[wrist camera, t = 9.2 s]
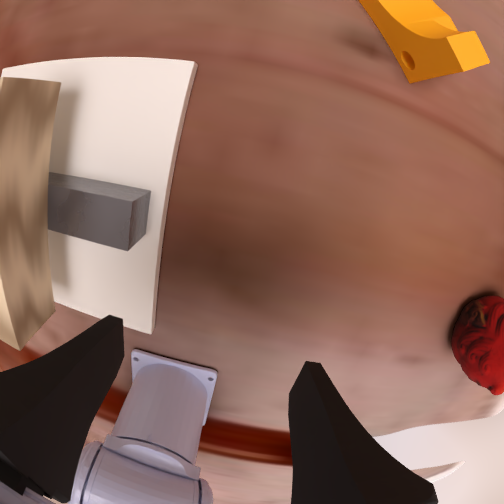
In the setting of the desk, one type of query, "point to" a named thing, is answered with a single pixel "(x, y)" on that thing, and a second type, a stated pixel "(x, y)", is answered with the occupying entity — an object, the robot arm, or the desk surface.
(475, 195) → the desk surface
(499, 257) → the desk surface
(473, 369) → the red clay folk toy
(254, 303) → the desk surface
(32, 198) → the oak bar
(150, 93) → the stand
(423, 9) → the pipe clamp
